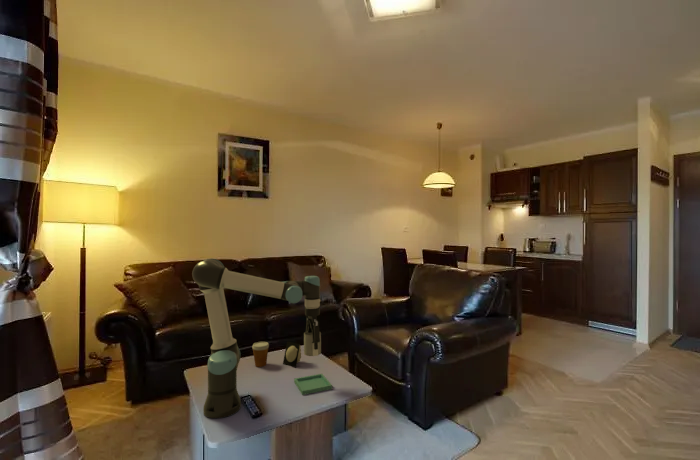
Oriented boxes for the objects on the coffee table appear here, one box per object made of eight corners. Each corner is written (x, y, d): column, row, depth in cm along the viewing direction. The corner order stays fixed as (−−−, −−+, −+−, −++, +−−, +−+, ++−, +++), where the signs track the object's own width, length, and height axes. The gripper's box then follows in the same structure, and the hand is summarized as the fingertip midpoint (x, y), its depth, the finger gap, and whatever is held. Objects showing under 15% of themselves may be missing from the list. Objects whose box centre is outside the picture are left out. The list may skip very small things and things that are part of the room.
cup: (317, 356, 163) (317, 336, 163) (301, 355, 165) (301, 335, 165) (322, 350, 171) (322, 331, 171) (307, 349, 173) (307, 330, 173)
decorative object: (291, 363, 201) (304, 367, 196) (279, 364, 193) (292, 368, 188) (295, 341, 205) (307, 344, 199) (283, 341, 196) (296, 344, 191)
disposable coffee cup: (251, 362, 197) (251, 342, 197) (268, 361, 200) (268, 340, 200) (252, 369, 188) (252, 347, 188) (269, 367, 191) (269, 345, 191)
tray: (302, 395, 158) (302, 391, 158) (294, 382, 172) (294, 378, 172) (332, 388, 164) (332, 385, 164) (322, 376, 178) (322, 373, 178)
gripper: (326, 310, 160) (326, 358, 160) (313, 302, 179) (313, 345, 179) (311, 312, 157) (311, 361, 157) (299, 303, 176) (299, 347, 176)
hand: (312, 352), depth 168 cm, fingers closed on cup, 8 cm apart
